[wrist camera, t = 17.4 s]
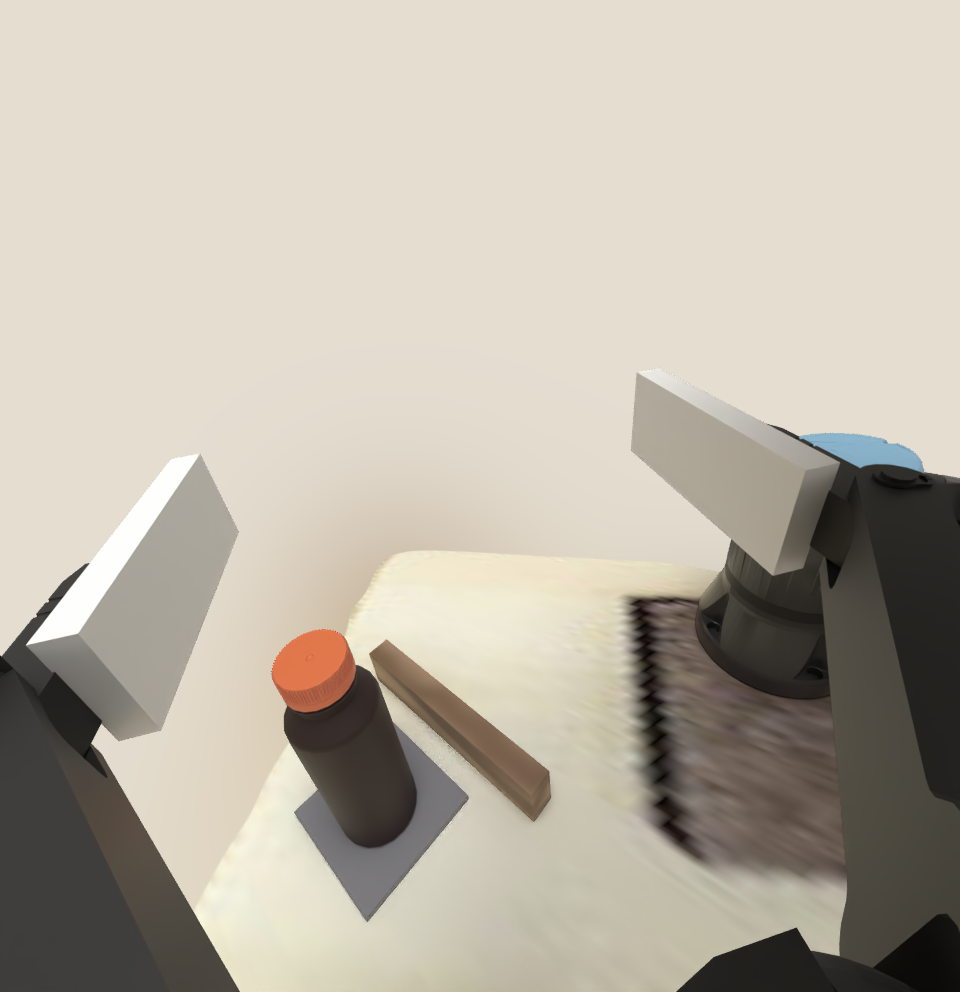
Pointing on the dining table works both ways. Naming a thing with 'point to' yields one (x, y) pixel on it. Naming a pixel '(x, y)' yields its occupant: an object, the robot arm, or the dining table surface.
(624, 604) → the dining table surface
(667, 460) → the robot arm
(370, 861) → the pad
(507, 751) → the door rail
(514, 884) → the dining table surface
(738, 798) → the dining table surface
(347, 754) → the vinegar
